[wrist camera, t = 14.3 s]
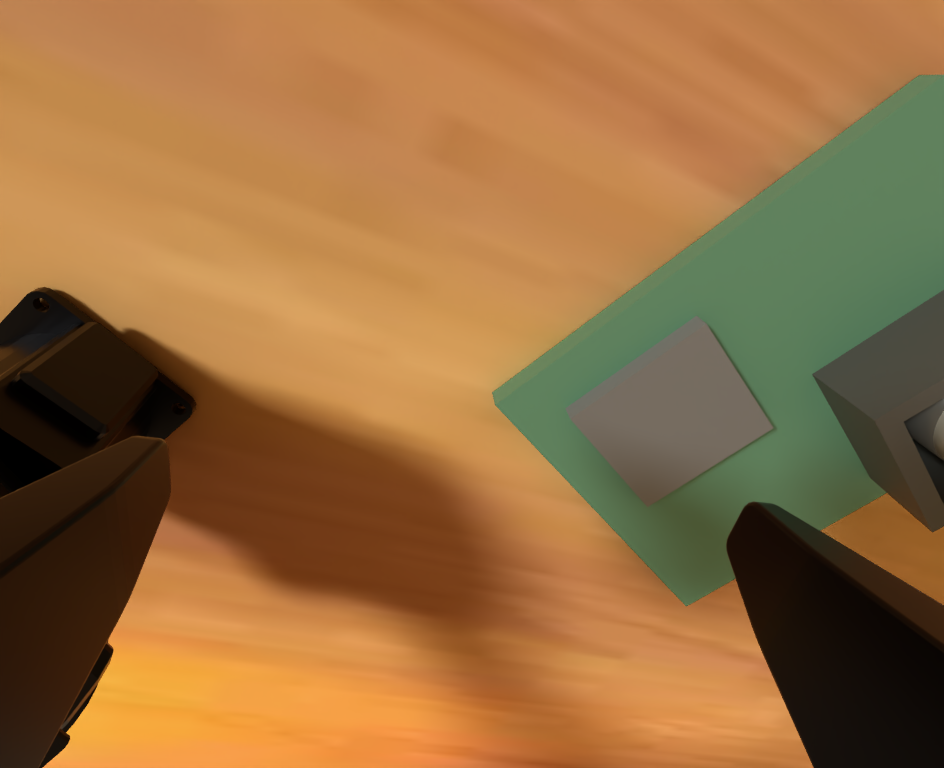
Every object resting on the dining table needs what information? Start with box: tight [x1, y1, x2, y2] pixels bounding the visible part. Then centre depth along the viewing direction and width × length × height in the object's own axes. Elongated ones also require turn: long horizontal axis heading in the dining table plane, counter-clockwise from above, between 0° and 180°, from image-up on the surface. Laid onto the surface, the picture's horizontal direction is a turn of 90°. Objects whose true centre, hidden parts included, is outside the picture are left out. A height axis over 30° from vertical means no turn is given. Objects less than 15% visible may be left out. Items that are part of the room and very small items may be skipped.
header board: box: [492, 75, 944, 606], centre depth 22 cm, size 18×16×4 cm
